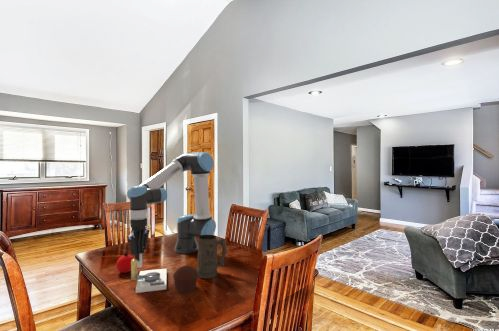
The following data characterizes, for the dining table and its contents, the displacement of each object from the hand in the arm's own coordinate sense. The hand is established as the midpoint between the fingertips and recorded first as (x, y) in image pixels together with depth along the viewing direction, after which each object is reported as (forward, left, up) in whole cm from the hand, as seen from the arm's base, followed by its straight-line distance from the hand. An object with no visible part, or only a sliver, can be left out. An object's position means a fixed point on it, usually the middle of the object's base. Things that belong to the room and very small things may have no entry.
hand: (138, 266), depth 129 cm
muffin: (-21, +13, -8) cm, 26 cm away
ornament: (+8, -15, -8) cm, 18 cm away
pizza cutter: (-3, +3, -5) cm, 7 cm away
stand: (-6, +1, -7) cm, 10 cm away
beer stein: (-35, -1, -8) cm, 36 cm away
